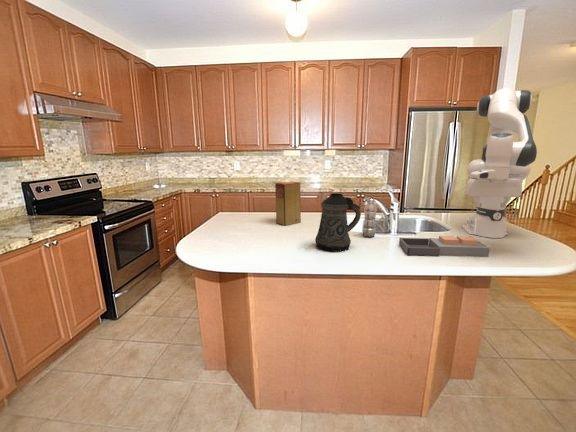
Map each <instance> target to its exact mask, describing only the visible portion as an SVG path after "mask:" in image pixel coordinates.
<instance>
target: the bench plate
mask: <svg viewBox="0 0 576 432" xmlns="http://www.w3.org/2000/svg"><path fill="white" fill-rule="evenodd" d="M428 239H429V244H428V245H429V246H430V247H431V248H440V253H439V256H438V257H440V256H441V257H445V256H446V257H474V258H475V257H479V258H482V257H483V258H489V253H490V247H489V246H487V245H486V244H484V243H482V242H481V241H479V240H478V242H477V245H462V244H460V243H459V245H444V244H443V243H441V242H440V241H439V237H435V238H434V237H433V238H432V237H429V238H428Z"/></svg>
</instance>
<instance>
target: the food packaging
mask: <svg viewBox="0 0 576 432" xmlns="http://www.w3.org/2000/svg"><path fill="white" fill-rule="evenodd" d="M274 185H275V186H274V187H275V191H274V193H275V217H276V218H275V219H276V220H275V221H276V224H278V225H280V226H284V227H286V226H291V225H296V224H300V223H302V220H301V219H302V218H301V217H302V216H301V214H302V212H301V210H302V209H301V206H302V205H301V182H299V181H284V182H275V184H274Z"/></svg>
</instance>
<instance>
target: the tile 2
mask: <svg viewBox="0 0 576 432" xmlns="http://www.w3.org/2000/svg"><path fill="white" fill-rule="evenodd" d="M455 238H457V239H458V240H459V243H460V244H462V245H477V242H478V241H479V240H478V239H476V238H474V237H473V236H471V235H456V236H455Z"/></svg>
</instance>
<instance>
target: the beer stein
mask: <svg viewBox="0 0 576 432" xmlns="http://www.w3.org/2000/svg"><path fill="white" fill-rule="evenodd" d="M320 204H321V208H322V211H321V216H320V221H319V227H318V231H317V232H316V233H317V234H316V237H315V247H316V249H318V250H319V251H323V252H327V253H328V252H329V253H342V251H343V252H346V251H348V250H349V249H350V246H351V242H352V240H351V237H350V235H349V233H350V232H351V231H352V230H353V229H354V228H355V227H356V225H357V224H358V223H359V222H360V219H361V215H362V213H361V207H360V206H359V205H357V204H356V203H354V200H353V199H352V198H351V197H349V196H348V197H347V196H344V195H343V194H342V193H336V192H335V193H334V192H333V193H330V195H329V196H328V197H327V198H325V199H324V200H323V201H322V202H321V203H320ZM347 211H354V212H355V216H354V219H352V221H351V222H350V223H349V224H348V217H347V215H348V214H347ZM345 250H346V251H345Z"/></svg>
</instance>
